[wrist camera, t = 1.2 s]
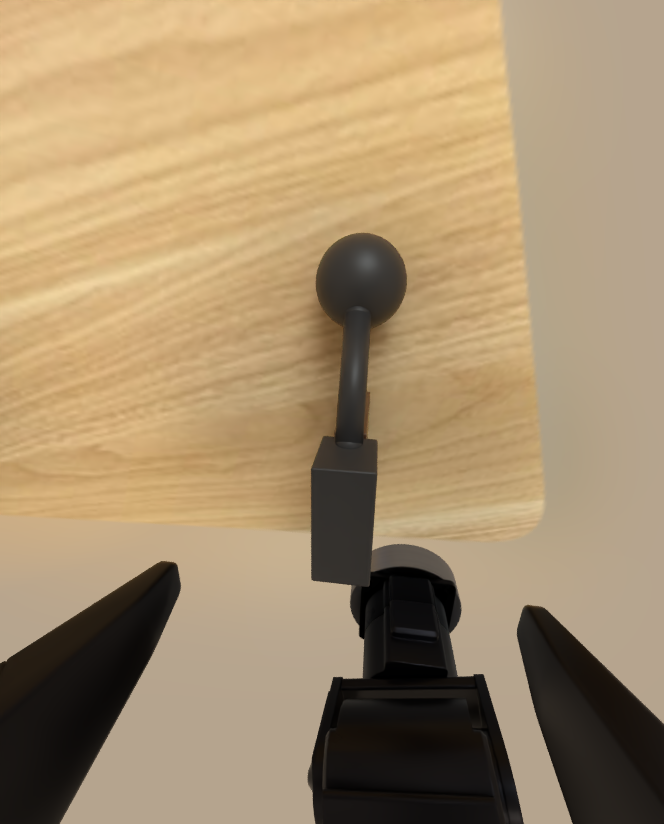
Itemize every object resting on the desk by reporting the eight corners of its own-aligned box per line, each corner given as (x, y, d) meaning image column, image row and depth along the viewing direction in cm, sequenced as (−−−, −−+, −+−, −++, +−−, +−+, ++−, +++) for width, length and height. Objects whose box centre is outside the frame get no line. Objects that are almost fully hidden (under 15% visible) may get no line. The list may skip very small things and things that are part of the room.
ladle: (323, 238, 15) (276, 199, 8) (407, 239, 15) (432, 197, 8) (321, 472, 19) (288, 578, 12) (387, 477, 19) (393, 590, 12)
